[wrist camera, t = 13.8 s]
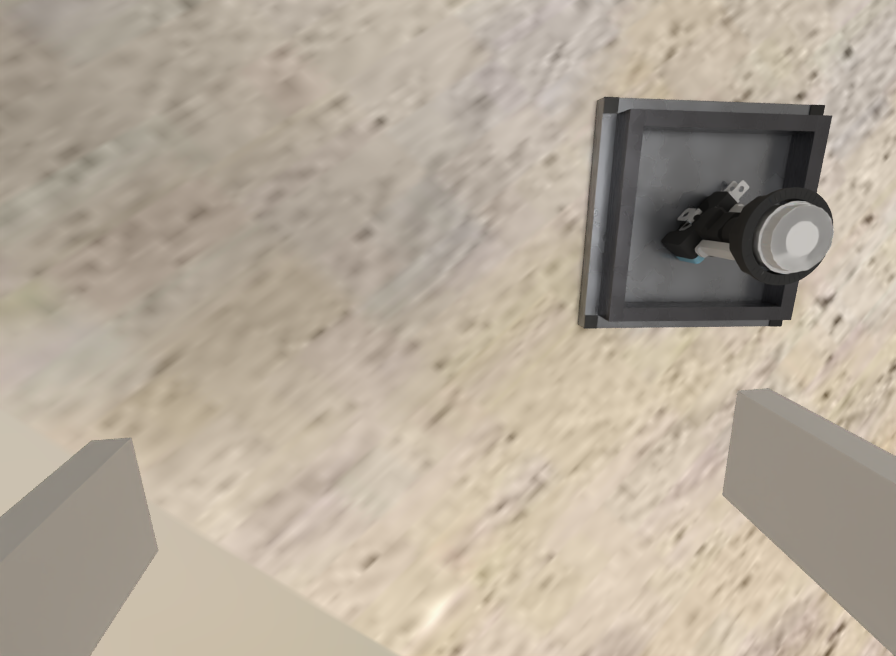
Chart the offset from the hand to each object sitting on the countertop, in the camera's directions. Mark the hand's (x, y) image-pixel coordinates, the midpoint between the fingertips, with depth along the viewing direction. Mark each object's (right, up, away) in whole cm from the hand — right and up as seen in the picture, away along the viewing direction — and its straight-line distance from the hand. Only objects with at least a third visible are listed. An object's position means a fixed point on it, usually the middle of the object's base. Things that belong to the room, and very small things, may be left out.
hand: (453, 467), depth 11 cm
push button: (+18, +11, +25) cm, 33 cm away
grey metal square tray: (+18, +11, +26) cm, 34 cm away
